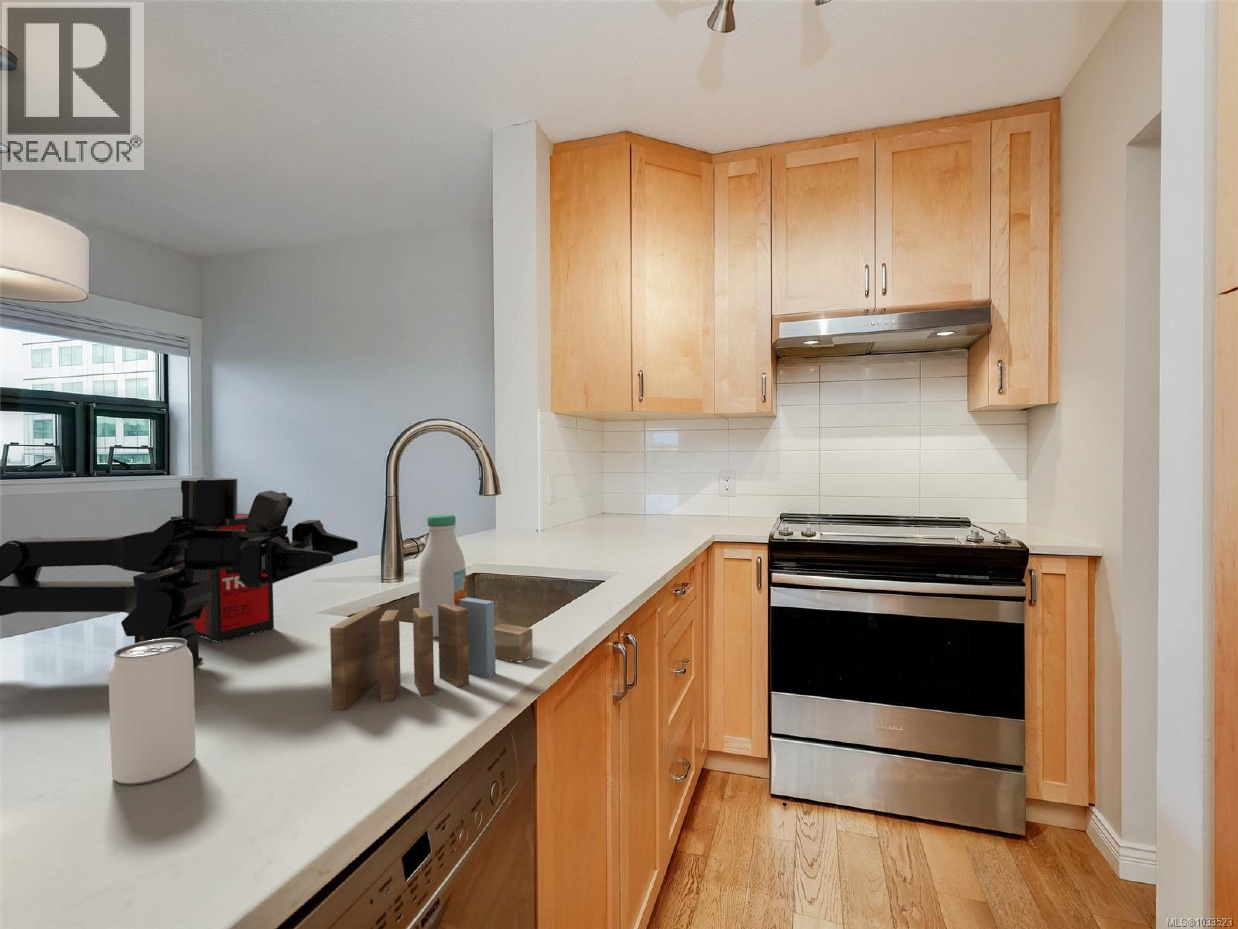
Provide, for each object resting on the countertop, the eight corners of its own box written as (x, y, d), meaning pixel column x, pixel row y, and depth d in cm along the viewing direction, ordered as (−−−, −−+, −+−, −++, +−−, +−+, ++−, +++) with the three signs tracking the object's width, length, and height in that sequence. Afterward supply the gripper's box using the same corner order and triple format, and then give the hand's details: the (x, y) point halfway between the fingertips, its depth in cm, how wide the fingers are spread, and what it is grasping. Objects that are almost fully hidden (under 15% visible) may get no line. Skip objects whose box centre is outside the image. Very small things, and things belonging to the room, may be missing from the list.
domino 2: (380, 701, 73) (379, 621, 73) (387, 686, 78) (386, 610, 78) (394, 700, 73) (393, 620, 73) (400, 685, 78) (399, 609, 78)
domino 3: (421, 696, 74) (419, 617, 74) (414, 683, 79) (412, 608, 79) (434, 694, 75) (432, 615, 75) (426, 681, 80) (425, 606, 79)
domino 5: (487, 677, 81) (486, 604, 80) (460, 671, 83) (459, 600, 83) (495, 673, 82) (494, 601, 82) (468, 667, 84) (467, 597, 84)
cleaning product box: (173, 628, 106) (170, 516, 106) (228, 616, 114) (225, 512, 113) (218, 642, 97) (214, 521, 97) (273, 629, 105) (270, 516, 105)
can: (143, 753, 61) (140, 637, 61) (210, 750, 62) (207, 635, 61) (93, 789, 55) (89, 659, 54) (168, 785, 55) (164, 656, 55)
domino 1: (332, 711, 71) (330, 627, 70) (370, 680, 80) (369, 606, 80) (345, 711, 70) (343, 627, 70) (382, 680, 80) (380, 606, 80)
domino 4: (458, 688, 77) (456, 611, 77) (439, 677, 81) (437, 604, 80) (468, 684, 78) (467, 609, 78) (450, 674, 82) (448, 602, 82)
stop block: (519, 663, 86) (519, 634, 86) (488, 656, 89) (487, 628, 89) (532, 656, 88) (532, 628, 88) (501, 650, 91) (501, 623, 91)
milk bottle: (441, 641, 96) (439, 518, 96) (410, 634, 100) (407, 516, 100) (476, 629, 103) (474, 514, 102) (445, 623, 107) (443, 512, 107)
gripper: (190, 502, 76) (317, 503, 77) (267, 487, 94) (368, 489, 95) (192, 588, 76) (317, 588, 77) (268, 557, 95) (368, 558, 96)
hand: (345, 550), depth 86 cm, fingers open, 9 cm apart
